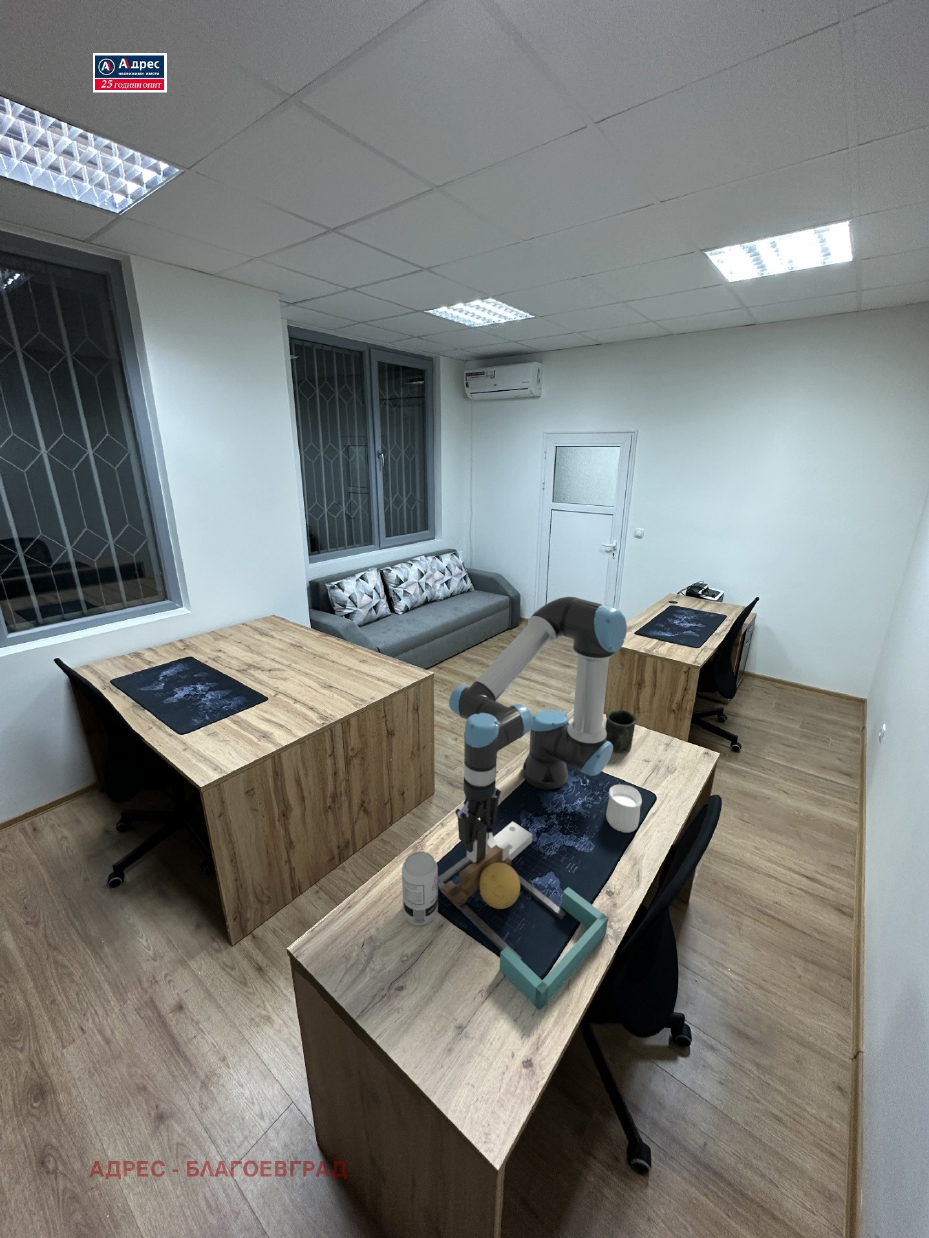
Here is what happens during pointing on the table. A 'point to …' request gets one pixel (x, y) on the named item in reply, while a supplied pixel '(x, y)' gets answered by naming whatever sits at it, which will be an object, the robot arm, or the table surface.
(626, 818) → the cup
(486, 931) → the rails
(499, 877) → the stress ball
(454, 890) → the carriage
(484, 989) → the table surface
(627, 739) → the mug
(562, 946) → the table surface
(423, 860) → the supplement can
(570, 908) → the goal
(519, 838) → the bracket
